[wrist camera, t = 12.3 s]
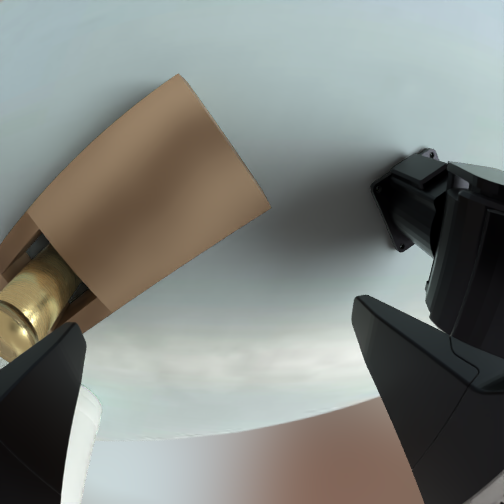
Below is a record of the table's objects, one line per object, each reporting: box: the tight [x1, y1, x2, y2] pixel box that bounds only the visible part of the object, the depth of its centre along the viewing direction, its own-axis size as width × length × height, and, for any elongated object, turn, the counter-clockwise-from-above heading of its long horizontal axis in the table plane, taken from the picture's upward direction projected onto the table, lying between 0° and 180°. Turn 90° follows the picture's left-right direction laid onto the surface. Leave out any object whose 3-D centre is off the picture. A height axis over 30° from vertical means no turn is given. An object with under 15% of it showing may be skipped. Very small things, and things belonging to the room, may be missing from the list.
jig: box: [0, 74, 271, 336], centre depth 19 cm, size 9×20×4 cm, turn 123°
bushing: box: [0, 243, 82, 362], centre depth 17 cm, size 4×4×10 cm
